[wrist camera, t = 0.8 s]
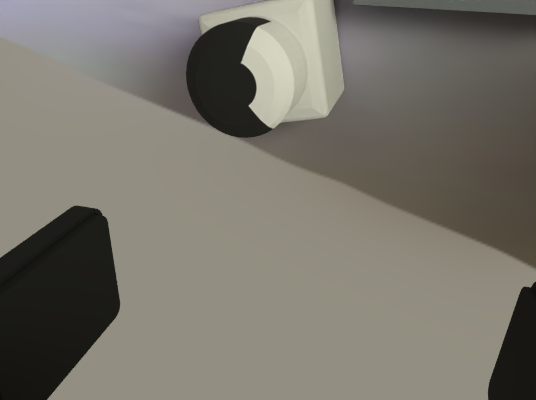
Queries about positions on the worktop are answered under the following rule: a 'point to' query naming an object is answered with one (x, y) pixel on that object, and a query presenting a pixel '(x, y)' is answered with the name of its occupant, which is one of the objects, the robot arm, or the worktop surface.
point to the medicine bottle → (266, 65)
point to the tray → (461, 5)
